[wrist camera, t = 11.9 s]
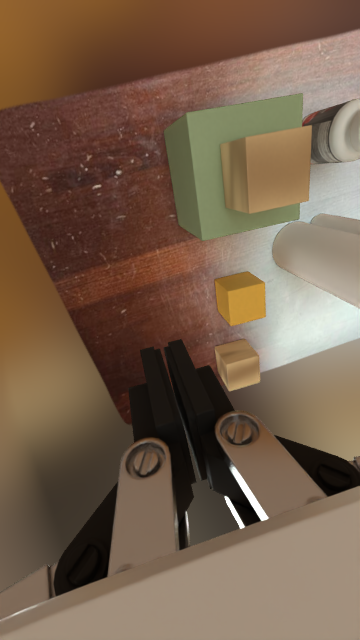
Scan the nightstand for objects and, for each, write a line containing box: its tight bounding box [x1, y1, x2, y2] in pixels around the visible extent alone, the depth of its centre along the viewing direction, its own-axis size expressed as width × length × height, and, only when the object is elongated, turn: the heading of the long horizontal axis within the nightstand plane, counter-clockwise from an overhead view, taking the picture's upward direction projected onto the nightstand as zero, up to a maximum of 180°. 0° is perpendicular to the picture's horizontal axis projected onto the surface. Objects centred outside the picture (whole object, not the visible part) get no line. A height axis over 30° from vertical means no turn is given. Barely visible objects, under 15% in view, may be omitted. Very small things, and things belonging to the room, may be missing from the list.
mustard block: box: [215, 271, 266, 326], centre depth 39 cm, size 5×5×5 cm
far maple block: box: [215, 339, 260, 391], centre depth 44 cm, size 5×5×5 cm
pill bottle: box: [302, 99, 360, 164], centre depth 31 cm, size 5×5×10 cm
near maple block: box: [220, 125, 312, 214], centre depth 23 cm, size 5×5×5 cm
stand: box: [164, 93, 303, 241], centre depth 30 cm, size 10×10×10 cm
